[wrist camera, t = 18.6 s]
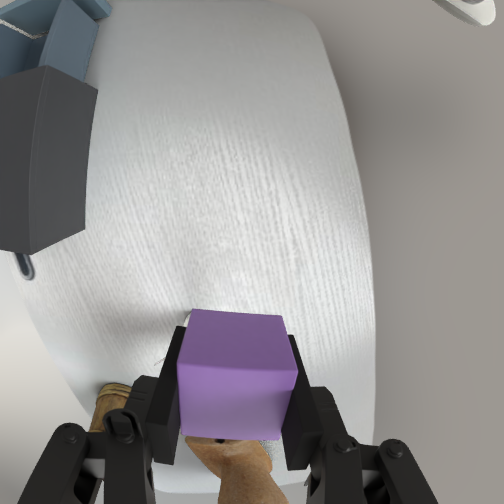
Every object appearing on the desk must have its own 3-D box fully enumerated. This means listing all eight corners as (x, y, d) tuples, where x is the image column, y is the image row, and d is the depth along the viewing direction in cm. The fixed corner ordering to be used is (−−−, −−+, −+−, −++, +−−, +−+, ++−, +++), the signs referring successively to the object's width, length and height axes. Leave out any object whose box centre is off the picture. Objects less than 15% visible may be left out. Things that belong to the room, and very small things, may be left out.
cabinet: (16, 102, 22) (-38, 93, 12) (98, 89, 23) (47, 64, 13) (7, 221, 25) (-46, 240, 16) (85, 229, 26) (31, 255, 17)
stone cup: (288, 463, 38) (301, 536, 24) (221, 475, 39) (221, 545, 24) (266, 413, 34) (278, 508, 20) (184, 428, 35) (171, 516, 20)
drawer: (50, -8, 17) (21, -31, 9) (127, -28, 18) (105, -64, 10) (10, 129, 22) (-35, 126, 14) (84, 120, 23) (38, 109, 15)
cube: (191, 307, 14) (176, 362, 10) (282, 314, 14) (299, 371, 10) (191, 376, 15) (180, 435, 11) (269, 381, 16) (279, 440, 11)
